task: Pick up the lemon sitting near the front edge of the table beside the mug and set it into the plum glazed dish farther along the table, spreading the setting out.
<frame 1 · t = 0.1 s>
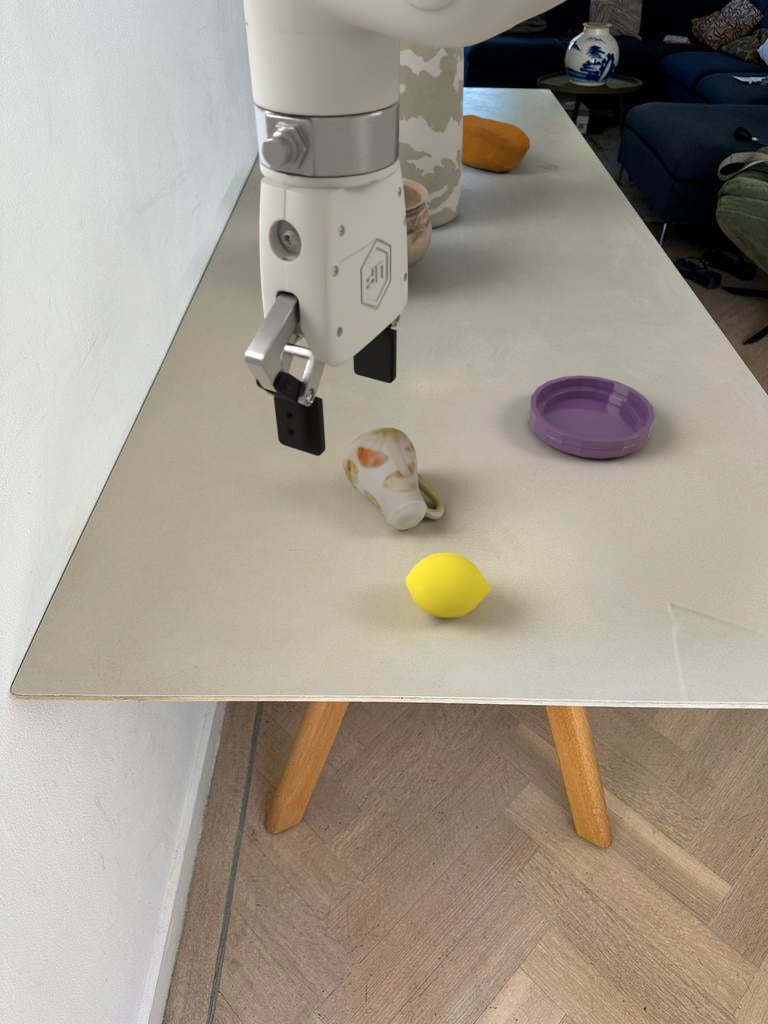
hand: (340, 410, 51), 20 cm above the table, tool pointing down, fingers open, 9 cm apart
mug: (394, 506, 75), on the table
cooking pot: (367, 277, 115), on the table
dish: (587, 426, 85), on the table
lemon: (445, 608, 64), on the table
bread: (488, 162, 159), on the table
vase: (410, 214, 136), on the table
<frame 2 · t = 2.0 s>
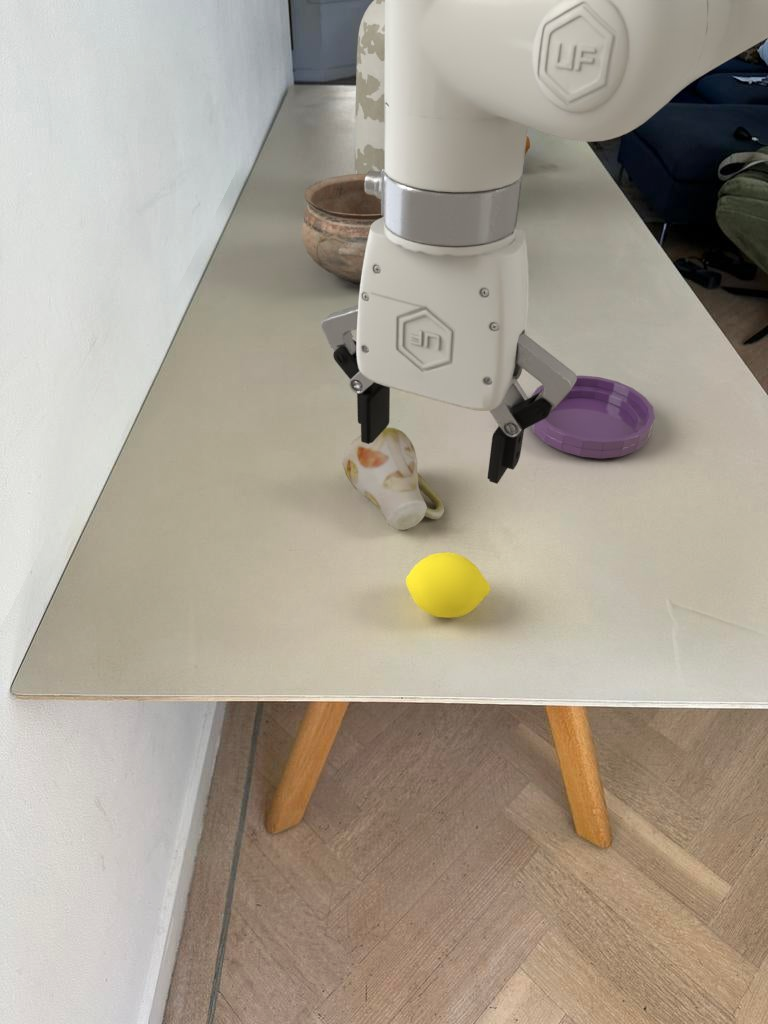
hand: (435, 452, 54), 16 cm above the table, tool pointing down, fingers open, 9 cm apart
nothing on the table moved.
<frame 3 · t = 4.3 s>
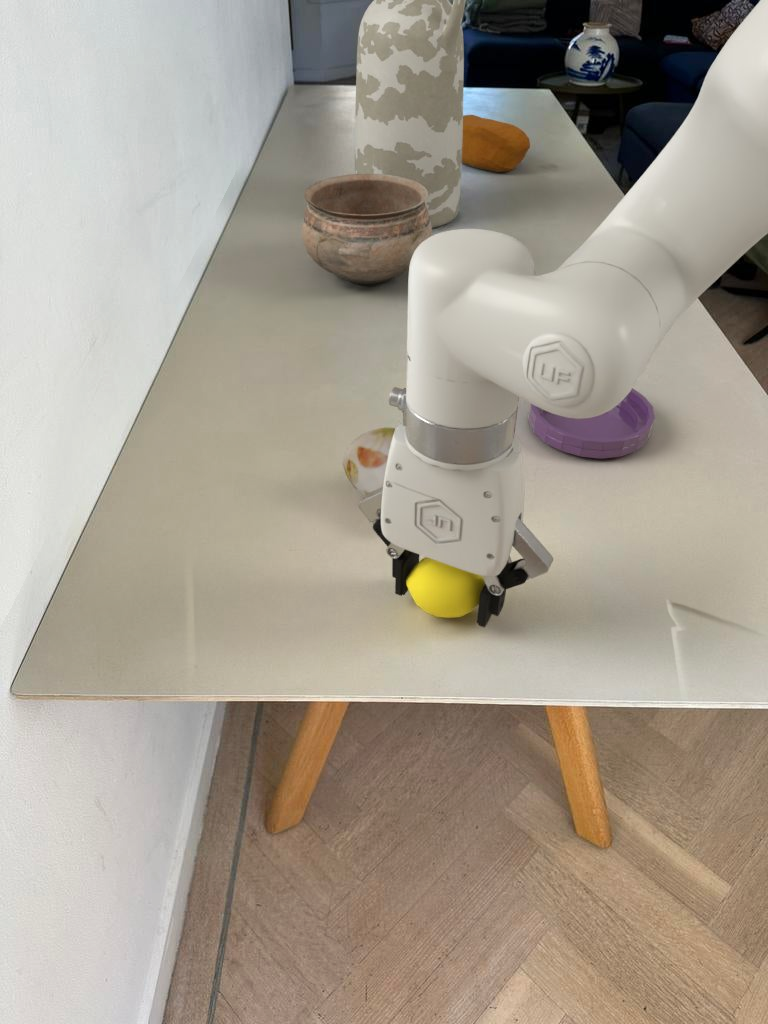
hand: (446, 598, 63), 1 cm above the table, tool pointing down, fingers closed on lemon, 6 cm apart
lemon: (445, 608, 64), on the table, touching gripper
everything else where it was.
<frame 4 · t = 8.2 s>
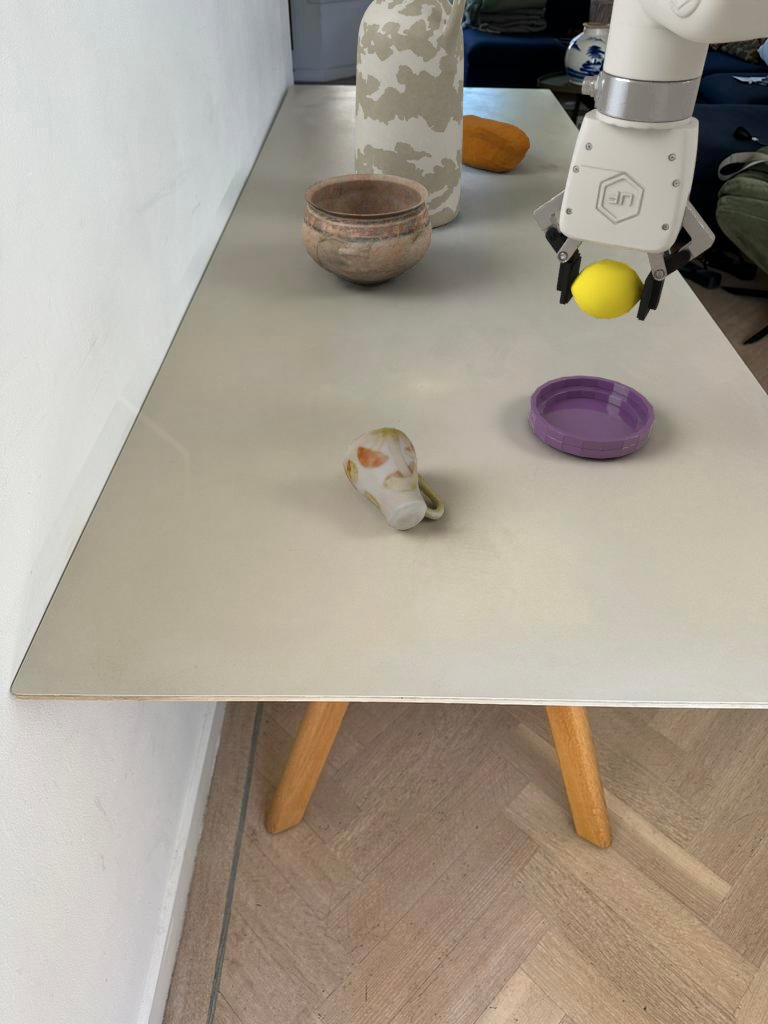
hand: (605, 305, 72), 16 cm above the table, tool pointing down, fingers closed on lemon, 6 cm apart
lemon: (602, 318, 73), point 14 cm above the table, touching gripper
everything else where it was.
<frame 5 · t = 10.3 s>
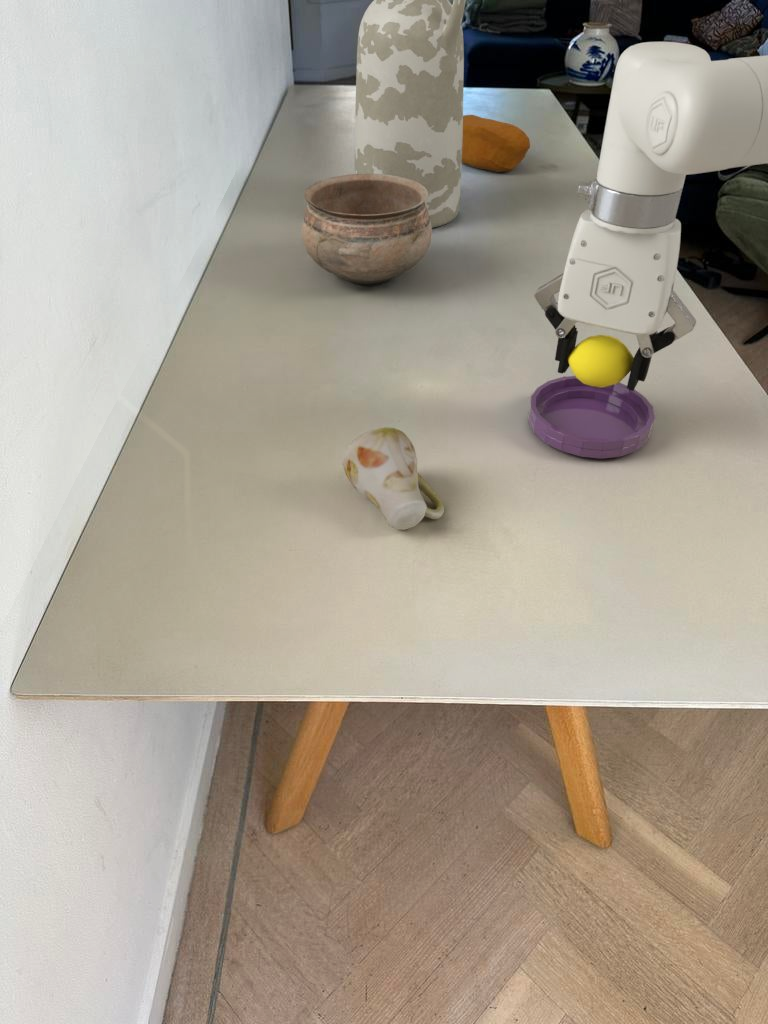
hand: (598, 374, 80), 7 cm above the table, tool pointing down, fingers closed on lemon, 6 cm apart
lemon: (596, 385, 81), point 5 cm above the table, touching gripper
everything else where it was.
when the fingers open (2 cm above the table, at t = 12.1 s): lemon stays where it is, resting on dish.
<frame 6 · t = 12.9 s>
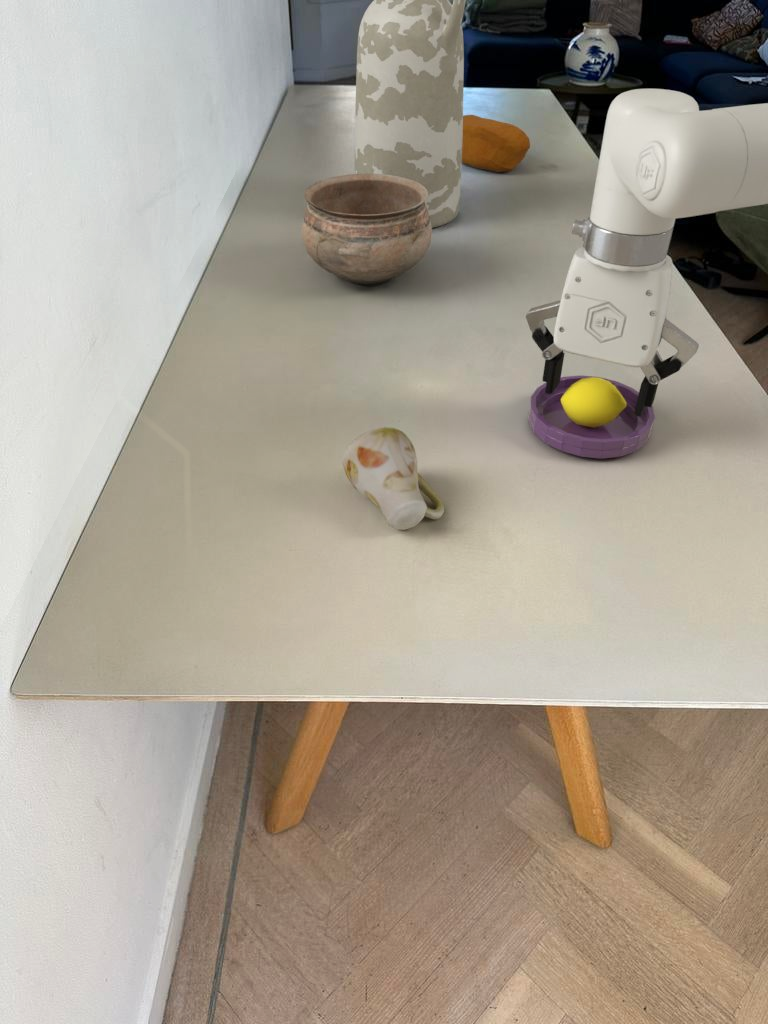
hand: (595, 398, 82), 4 cm above the table, tool pointing down, fingers open, 9 cm apart
lemon: (588, 424, 84), resting on dish
everything else where it was.
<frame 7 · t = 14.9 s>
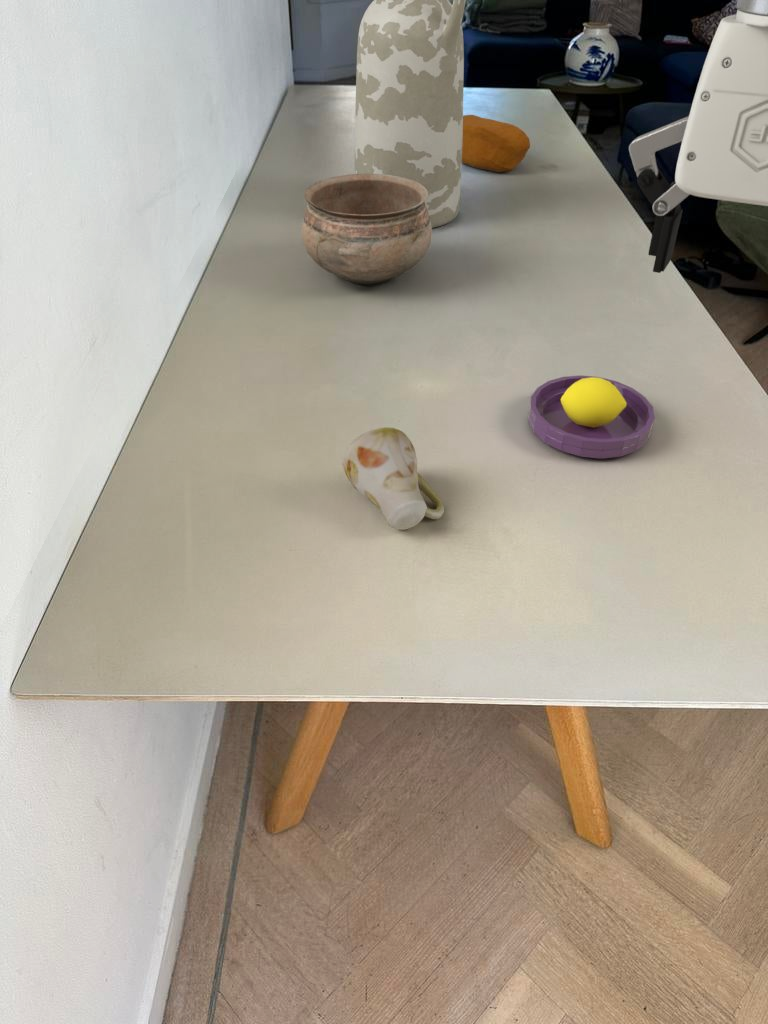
hand: (729, 277, 55), 25 cm above the table, tool pointing down, fingers open, 9 cm apart
nothing on the table moved.
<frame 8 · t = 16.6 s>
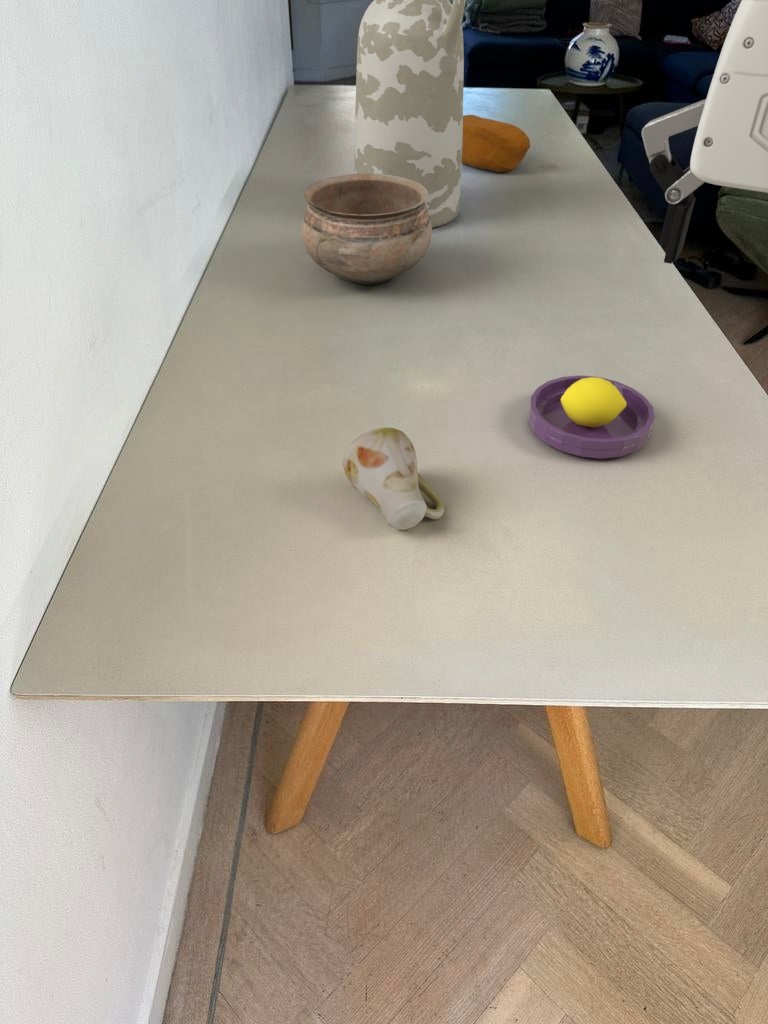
hand: (743, 269, 53), 26 cm above the table, tool pointing down, fingers open, 9 cm apart
nothing on the table moved.
at the end: lemon inside the target area in the dish (0.1 cm from its centre), point 0.3 cm above the dish's base; the gripper is holding nothing; mug moved 0.2 cm from its start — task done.
